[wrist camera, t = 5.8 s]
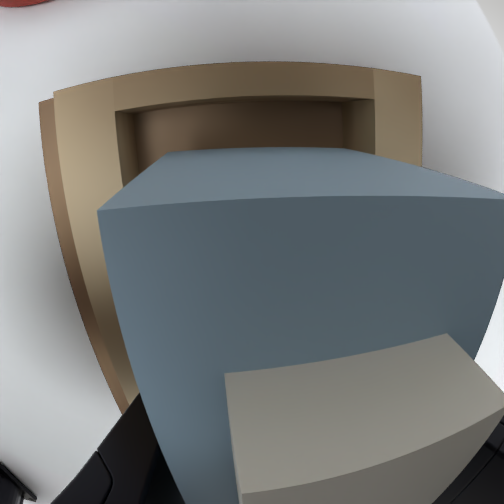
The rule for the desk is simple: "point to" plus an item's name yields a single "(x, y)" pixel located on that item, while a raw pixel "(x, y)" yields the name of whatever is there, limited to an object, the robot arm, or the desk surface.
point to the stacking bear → (19, 2)
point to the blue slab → (307, 321)
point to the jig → (199, 138)
